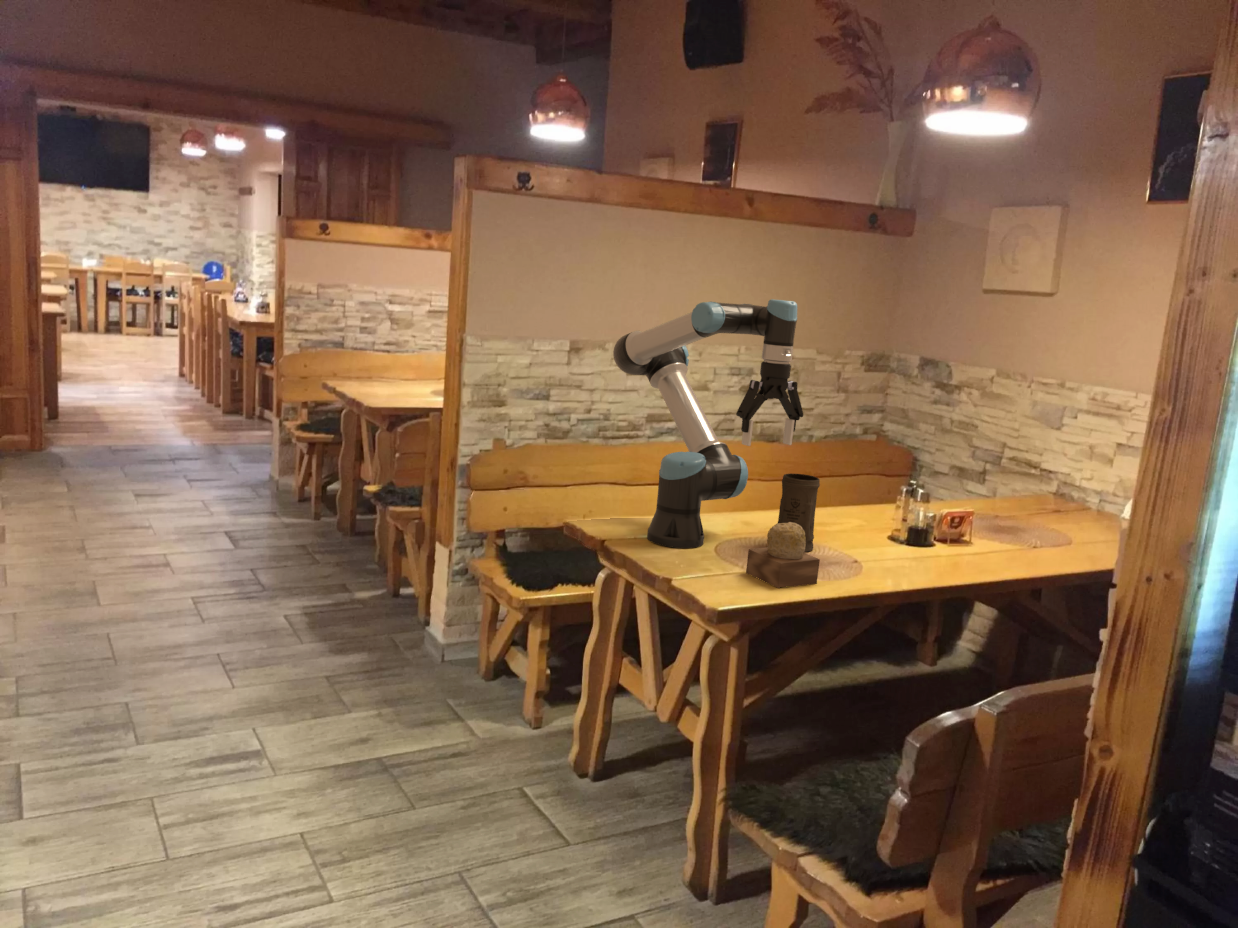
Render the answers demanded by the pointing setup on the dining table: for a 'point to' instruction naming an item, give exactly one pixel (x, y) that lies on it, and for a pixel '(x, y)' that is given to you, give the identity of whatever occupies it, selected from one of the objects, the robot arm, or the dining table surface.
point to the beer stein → (799, 503)
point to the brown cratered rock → (786, 541)
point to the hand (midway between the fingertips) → (766, 444)
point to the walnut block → (782, 568)
